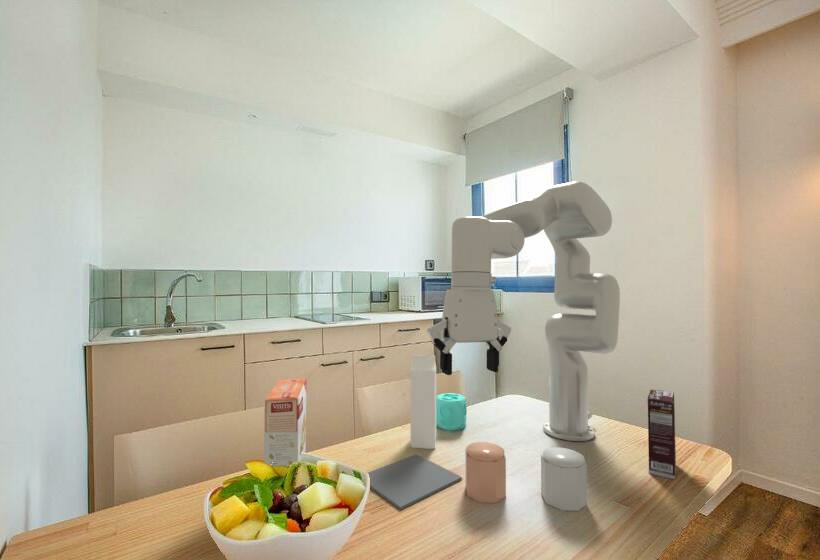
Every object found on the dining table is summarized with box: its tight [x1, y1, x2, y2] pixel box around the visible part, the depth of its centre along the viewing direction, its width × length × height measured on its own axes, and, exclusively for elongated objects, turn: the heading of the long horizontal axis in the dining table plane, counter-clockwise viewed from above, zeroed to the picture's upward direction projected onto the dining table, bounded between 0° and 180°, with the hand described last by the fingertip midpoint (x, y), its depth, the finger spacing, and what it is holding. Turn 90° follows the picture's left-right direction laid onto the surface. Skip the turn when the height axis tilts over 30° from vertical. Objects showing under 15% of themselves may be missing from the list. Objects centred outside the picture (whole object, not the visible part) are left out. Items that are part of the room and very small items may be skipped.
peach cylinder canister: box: [465, 441, 507, 504], centre depth 74 cm, size 7×7×8 cm
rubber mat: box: [367, 453, 463, 511], centre depth 78 cm, size 16×14×1 cm
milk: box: [409, 354, 437, 450], centre depth 96 cm, size 6×6×22 cm
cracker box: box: [263, 378, 308, 467], centre depth 71 cm, size 14×6×21 cm, turn 9°
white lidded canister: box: [540, 446, 588, 512], centre depth 71 cm, size 7×7×8 cm
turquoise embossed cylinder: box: [436, 392, 468, 432], centre depth 108 cm, size 8×8×8 cm
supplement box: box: [647, 389, 677, 480], centre depth 83 cm, size 9×5×16 cm, turn 145°
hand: (469, 372), depth 73 cm, fingers open, 9 cm apart
